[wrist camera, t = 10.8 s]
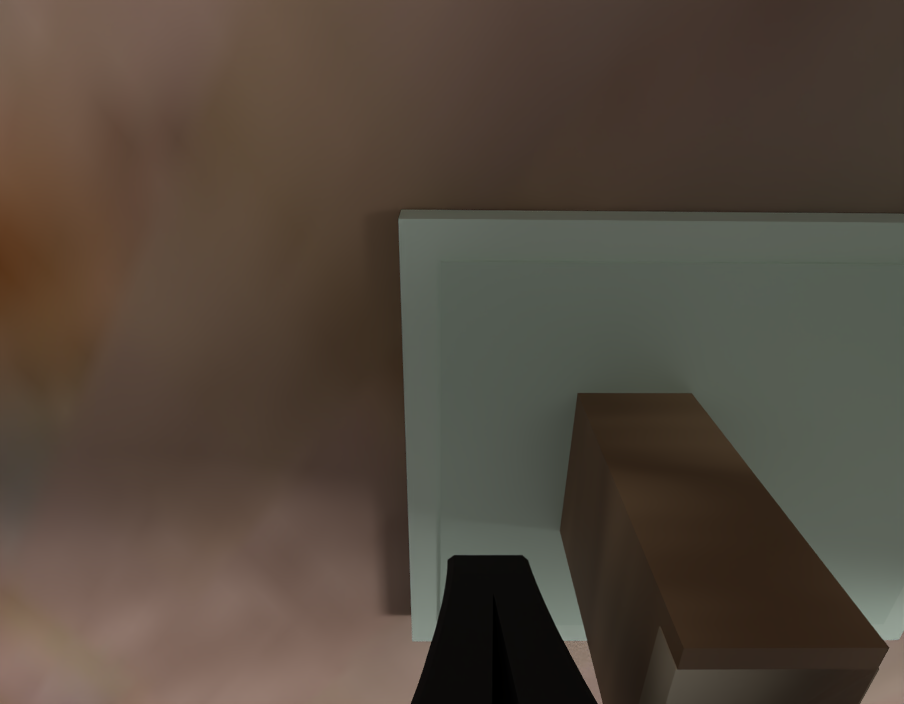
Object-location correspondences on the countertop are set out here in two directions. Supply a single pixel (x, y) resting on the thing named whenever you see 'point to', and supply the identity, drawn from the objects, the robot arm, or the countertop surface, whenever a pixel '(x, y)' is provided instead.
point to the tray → (652, 376)
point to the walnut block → (698, 568)
